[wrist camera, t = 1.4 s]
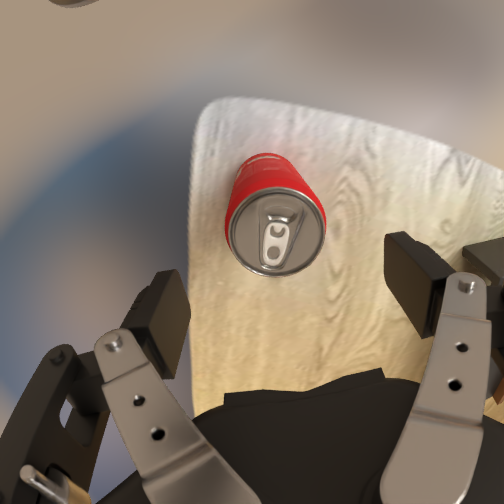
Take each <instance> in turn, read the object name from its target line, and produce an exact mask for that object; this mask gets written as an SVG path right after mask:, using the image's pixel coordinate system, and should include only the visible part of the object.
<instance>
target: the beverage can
mask: <svg viewBox="0 0 504 504" xmlns="http://www.w3.org/2000/svg"><path fill="white" fill-rule="evenodd" d="M325 233H326V216H325V212H324V209H323V207H322V205H321V203H320V201H319V199H318V198H317V197H316V195H315V194H314V193H313V191H312V190H311V189H310V187H309V186H308V185H307V183H306V182H305V181H304V179H303V178H302V177H301V176H300V174H299V173H298V172H297V170H296V169H295V168H294V167H293V165H292V164H291V163H290V162H289V161H288V160H287V159H285V158H284V157H282V156H280V155H277V154H273V153H262V154H257V155H255V156H252V157H251V158H249V159H248V160H246V161H245V162H244V163H243V164H242V165H241V167H240V168H239V170H238V172H237V175H236V179H235V182H234V186H233V190H232V194H231V198H230V202H229V206H228V209H227V213H226V217H225V236H226V240H227V243H228V245H229V247H230V249H231V251H232V252H233V254H234V256H235V257H236V259H237V260H238V261H239V262H240V263H241V264H242V265H243V266H244V267H245V268H247V269H248V270H250V271H251V272H253V273H256V274H258V275H261V276H265V277H274V278H277V277H286V276H290V275H293V274H296V273H298V272H300V271H302V270H303V269H305V268H307V267H308V266H310V265H311V263H312V262H313V261H314V260H315V259H316V257H317V256H318V254H319V253H320V251H321V249H322V246H323V243H324V239H325Z"/></svg>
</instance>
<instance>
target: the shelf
mask: <svg viewBox="0 0 504 504" xmlns="http://www.w3.org/2000/svg"><path fill="white" fill-rule="evenodd" d="M463 257H464V258H466V259H467V260H468V261H469V262H470V263H471V264H472V265H474V266H475V267H476V268H477V269H478V270H479V271H480V272H481V273H482V274H484V275H485V276H486V277H487V278H488V279H489V280H490V281H491V282H492V283H491V286H500V285H503V281H504V237H502V238H498V239H494V240H490V241H486V242H481V243H477V244H473V245H469V246H464V248H463ZM492 396H493V398H494V400H495V401H496V403H497V405H499V404H500V403H502V402H503V400H504V377H503V375H502V373H501V372H500V370H499V368H498V367H497V365H496V363H495V362H494V360H493V359H492V357H491V355H490V366H489V376H488V385H487V393H486V399H488V398H490V397H492ZM486 399H485V400H486Z"/></svg>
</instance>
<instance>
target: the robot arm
mask: <svg viewBox="0 0 504 504" xmlns="http://www.w3.org/2000/svg"><path fill="white" fill-rule="evenodd" d="M384 277H385V281H386V284H387V286H388V288H389V289H390V291H391V292H392V294H393V295H394V297H395V298H396V300H397V301H398V303H399V304H400V306H401V307H402V309H403V310H404V312H405V313H406V315H407V316H408V318H409V319H410V321H411V323H412V324H413V326H414V327H415V329H416V331H417V332H418V334H419V335H420V337H421V339H424V338H428V337H431V336H434V341H433V345H432V348H431V352H430V356H429V359H428V362H427V366H426V369H425V372H424V375H423V378H422V381H421V384H420V383H417V382H414V381H410V380H406V379H399V378H385V376H384V373H383V371H382V368H377V369H373V370H369V371H365V372H360V373H356V374H351V375H347V376H343V377H341V378H339V379H336V380H334V381H331V382H329V383H326V384H324V385H322V386H319V387H317V388H314V389H311V390H309V391H304V392H296V391H278V390H264V389H262V390H254V391H244V392H234V393H224V404H223V405H221V406H218V407H215V408H213V409H210V410H208V411H206V412H204V413H202V414H200V415H199V416H197V417H195V418H194V419H193V420H191V419H190V418H189V417H188V415H187V414H186V413H185V411H184V410H183V408H182V407H181V406H180V404H179V403H178V402H177V400H176V399H175V397H174V396H173V395H172V393H171V392H170V391H169V389H168V387H167V386H166V384H165V383H164V382H163V380H162V379H174V378H175V374H176V370H177V366H178V362H179V359H180V355H181V351H182V347H183V343H184V340H185V336H186V333H187V329H188V325H189V322H190V318H191V309H190V304H189V301H188V298H187V295H186V292H185V289H184V286H183V283H182V280H181V277H180V274H179V272H178V271H177V270H176V269H173V270H167V271H161V272H157V273H156V275H155V277H154V279H153V281H152V282H151V284H150V286H147V287H146V288H145V289H143V290H142V291H141V292H140V293H139V294H138V296H137V298H136V299H135V301H134V303H133V304H132V306H131V308H130V309H131V310H129V312H128V314H127V315H126V317H125V319H124V321H123V323H122V324H121V326H120V328H119V329H115V330H111V331H109V332H107V333H105V334H104V335H103V336H101V337H100V338H99V339H98V340H97V342H96V343H95V346H94V351H90V352H87V353H83V354H80V355H77V353H76V352H75V350H74V349H73V347H72V346H71V345H69V344H62V345H59V346H56V347H55V348H53V349H51V350H50V351H49V352H48V353H47V354H46V355H45V356H44V358H43V359H42V361H41V363H40V364H39V366H38V368H37V369H36V371H35V373H34V374H33V376H32V378H31V380H30V381H29V383H28V385H27V387H26V389H25V390H24V392H23V394H22V396H21V398H20V400H19V401H18V403H17V405H16V407H15V409H14V411H13V413H12V415H11V417H10V419H9V421H8V423H7V425H6V427H5V429H4V431H3V433H2V435H1V438H0V504H91V499H90V496H89V494H88V491H89V487H90V483H91V478H92V475H93V471H94V467H95V463H96V459H97V456H98V452H99V449H100V445H101V441H102V438H103V435H104V431H105V428H106V425H107V421H108V418H109V415H110V412H111V413H112V416H113V418H114V421H115V423H116V426H117V428H118V430H119V432H120V435H121V437H122V439H123V441H124V444H125V446H126V448H127V450H128V452H129V454H130V456H131V458H132V460H133V462H134V464H135V466H136V468H137V470H136V471H135V472H134V473H132V474H131V475H130V476H129V477H128V478H127V479H125V480H124V481H123V482H122V483H121V484H119V485H118V486H117V487H116V488H115V489H113V490H112V491H111V492H110V493H108V494H107V495H106V496H105V497H104V498H102V499H101V500H100V501H98V502H97V503H96V504H504V424H502V423H500V422H498V421H496V420H494V419H492V418H490V417H487V416H485V415H483V412H484V406H485V399H486V393H487V385H488V376H489V366H490V355H491V357H492V359H493V360H494V362H495V363H496V365H497V367H498V368H499V370H500V372H501V373H502V375H503V377H504V281H503V285H500V286H486V283H485V282H484V280H483V279H482V278H481V277H479V276H477V275H475V274H473V273H469V272H456V271H455V270H454V269H453V268H452V267H451V266H450V265H449V264H448V263H447V262H446V261H444V260H443V259H441V257H440V256H439V255H438V254H437V253H435V251H434V250H432V249H431V248H430V247H429V246H428V245H426V244H423V243H421V242H419V241H415V240H414V239H413V238H411V237H410V236H409V235H408V234H407V233H406V232H405V231H401V232H395V233H389V234H386V235H385V238H384ZM65 399H67V400H68V402H69V403H70V404H71V405H72V407H73V408H72V411H71V413H70V416H69V418H68V421H67V423H66V426H65V428H64V427H63V426H62V424H61V422H60V417H59V415H60V410H61V408H62V406H63V404H64V401H65Z"/></svg>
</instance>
